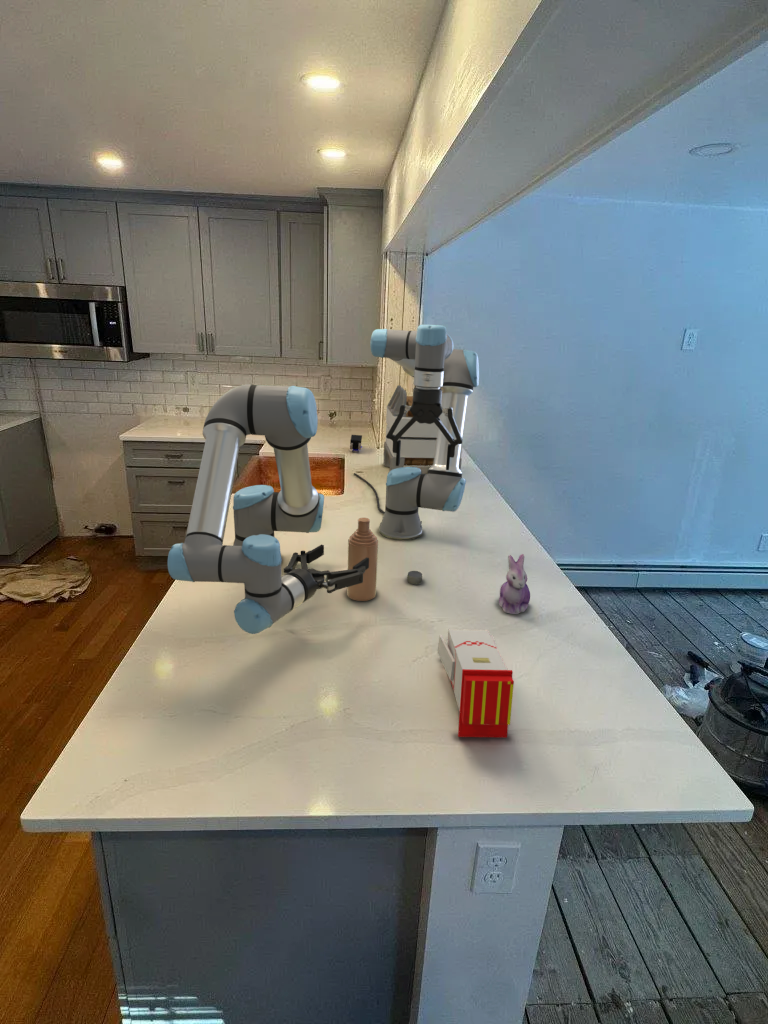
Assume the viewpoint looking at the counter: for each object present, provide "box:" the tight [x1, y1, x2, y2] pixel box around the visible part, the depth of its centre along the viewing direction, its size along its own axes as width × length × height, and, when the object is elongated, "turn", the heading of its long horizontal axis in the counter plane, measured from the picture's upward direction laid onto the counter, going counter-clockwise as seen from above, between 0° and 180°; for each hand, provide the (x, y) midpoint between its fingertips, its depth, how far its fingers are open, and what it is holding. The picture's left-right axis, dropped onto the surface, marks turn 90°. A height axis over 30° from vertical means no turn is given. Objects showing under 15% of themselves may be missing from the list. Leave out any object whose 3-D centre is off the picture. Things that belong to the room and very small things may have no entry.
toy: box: [437, 628, 515, 738], centre depth 117 cm, size 12×13×30 cm
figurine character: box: [349, 434, 363, 453], centre depth 311 cm, size 7×8×15 cm
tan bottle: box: [346, 517, 379, 602], centre depth 153 cm, size 8×8×22 cm
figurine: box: [498, 553, 531, 615], centre depth 151 cm, size 9×10×15 cm
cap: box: [406, 570, 423, 585], centre depth 165 cm, size 4×4×2 cm
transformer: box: [383, 384, 466, 472], centre depth 268 cm, size 34×33×41 cm
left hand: (344, 555), depth 144 cm, fingers open, 13 cm apart
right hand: (422, 466), depth 154 cm, fingers open, 13 cm apart
